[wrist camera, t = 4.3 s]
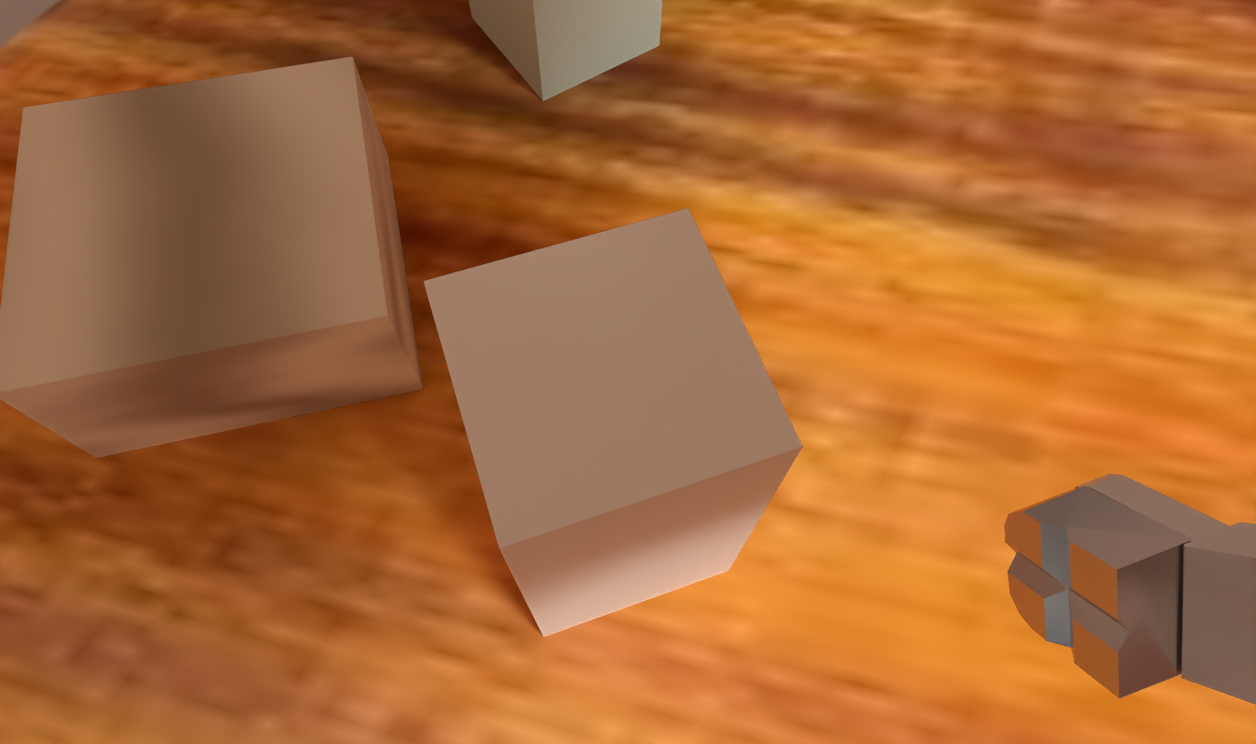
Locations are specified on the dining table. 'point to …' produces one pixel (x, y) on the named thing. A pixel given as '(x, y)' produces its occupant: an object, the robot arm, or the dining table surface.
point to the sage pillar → (568, 36)
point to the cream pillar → (612, 415)
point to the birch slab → (203, 259)
